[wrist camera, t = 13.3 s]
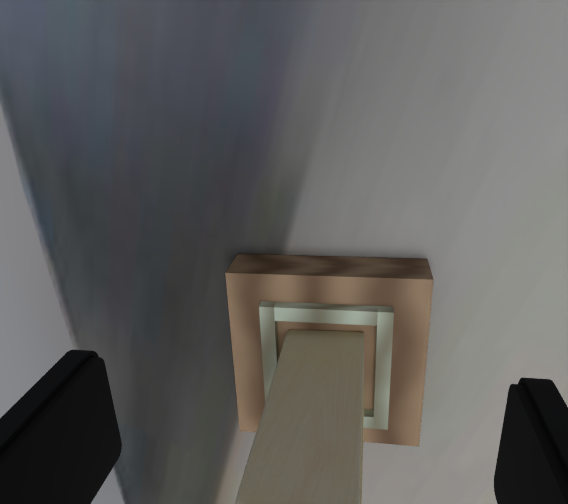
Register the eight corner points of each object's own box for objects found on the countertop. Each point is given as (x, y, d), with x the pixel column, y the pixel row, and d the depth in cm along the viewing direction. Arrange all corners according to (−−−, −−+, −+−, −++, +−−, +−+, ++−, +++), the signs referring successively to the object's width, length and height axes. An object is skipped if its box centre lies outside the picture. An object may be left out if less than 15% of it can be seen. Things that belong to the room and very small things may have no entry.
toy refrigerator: (289, 387, 52) (244, 583, 33) (285, 328, 49) (233, 503, 30) (364, 391, 51) (363, 597, 31) (364, 330, 48) (362, 515, 29)
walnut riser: (427, 258, 49) (435, 285, 44) (414, 414, 57) (420, 454, 51) (237, 253, 52) (222, 278, 47) (249, 402, 60) (237, 438, 54)
